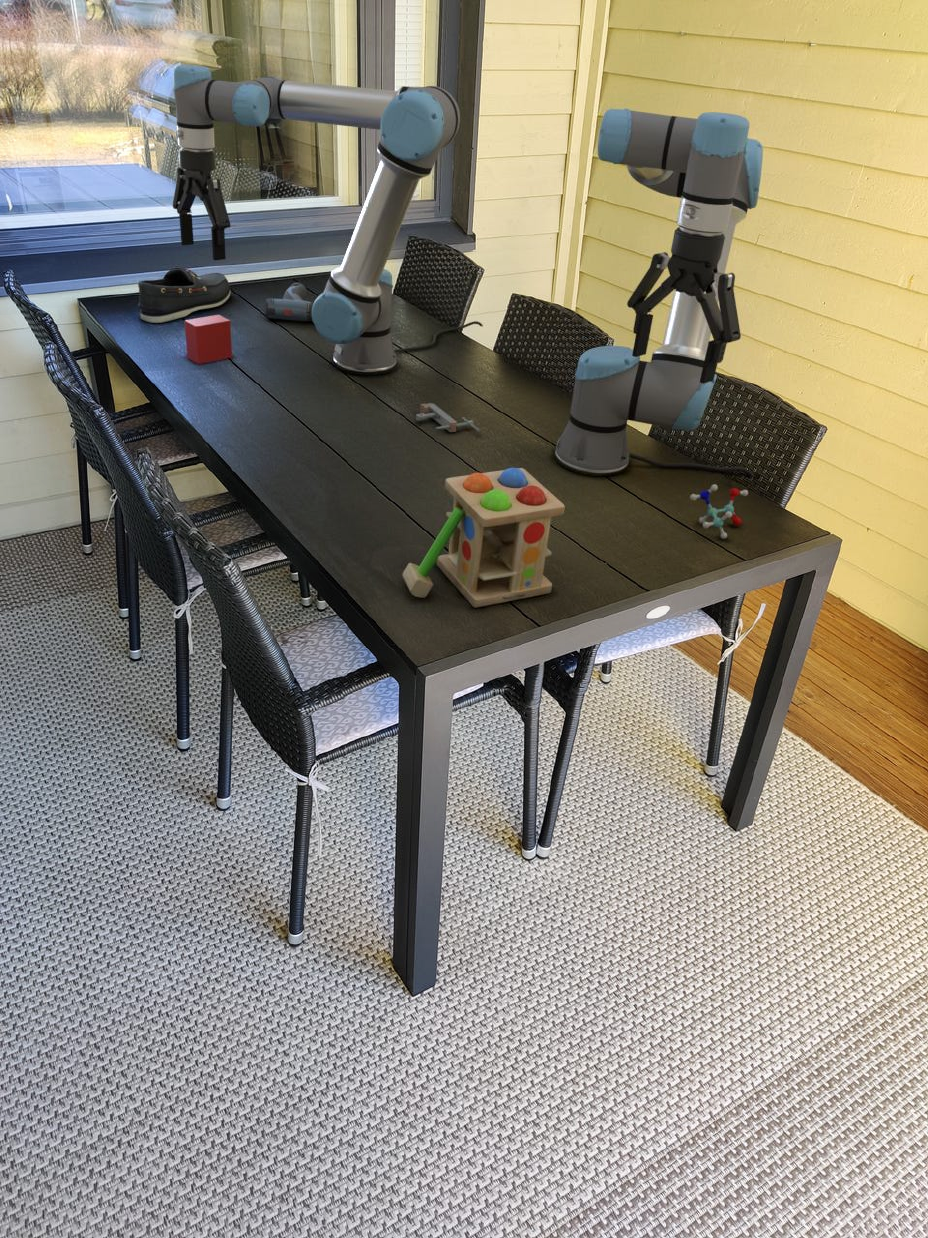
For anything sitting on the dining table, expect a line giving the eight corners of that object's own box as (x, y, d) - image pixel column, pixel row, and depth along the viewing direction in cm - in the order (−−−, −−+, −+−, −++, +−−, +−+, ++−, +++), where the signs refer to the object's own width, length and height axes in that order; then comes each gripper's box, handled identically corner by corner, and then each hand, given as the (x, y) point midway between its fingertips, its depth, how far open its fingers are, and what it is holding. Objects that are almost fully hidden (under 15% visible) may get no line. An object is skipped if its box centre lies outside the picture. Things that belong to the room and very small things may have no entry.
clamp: (408, 405, 213) (448, 399, 218) (407, 414, 215) (447, 409, 219) (441, 432, 203) (482, 426, 207) (440, 442, 204) (481, 435, 209)
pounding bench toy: (424, 619, 150) (431, 515, 140) (388, 572, 160) (393, 472, 150) (553, 592, 159) (568, 494, 149) (511, 550, 169) (523, 455, 159)
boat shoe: (248, 301, 272) (246, 262, 267) (158, 325, 248) (153, 283, 243) (214, 293, 278) (211, 255, 272) (123, 315, 254) (117, 274, 248)
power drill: (344, 304, 276) (335, 327, 259) (277, 298, 275) (264, 321, 258) (344, 285, 273) (335, 306, 256) (277, 279, 272) (264, 300, 255)
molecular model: (753, 532, 175) (738, 478, 173) (701, 547, 178) (685, 494, 177) (757, 522, 185) (742, 472, 184) (707, 537, 189) (692, 487, 187)
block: (187, 357, 232) (184, 320, 227) (221, 351, 238) (218, 314, 233) (198, 364, 230) (195, 326, 225) (232, 357, 235) (230, 320, 230)
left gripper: (151, 138, 213) (160, 240, 225) (212, 160, 199) (218, 267, 211) (182, 137, 218) (189, 236, 230) (244, 158, 203) (248, 263, 215)
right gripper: (620, 213, 151) (598, 348, 163) (757, 253, 137) (722, 397, 148) (650, 209, 155) (626, 340, 167) (786, 247, 141) (750, 388, 153)
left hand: (203, 251), depth 220 cm, fingers open, 13 cm apart
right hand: (671, 368), depth 158 cm, fingers open, 13 cm apart
